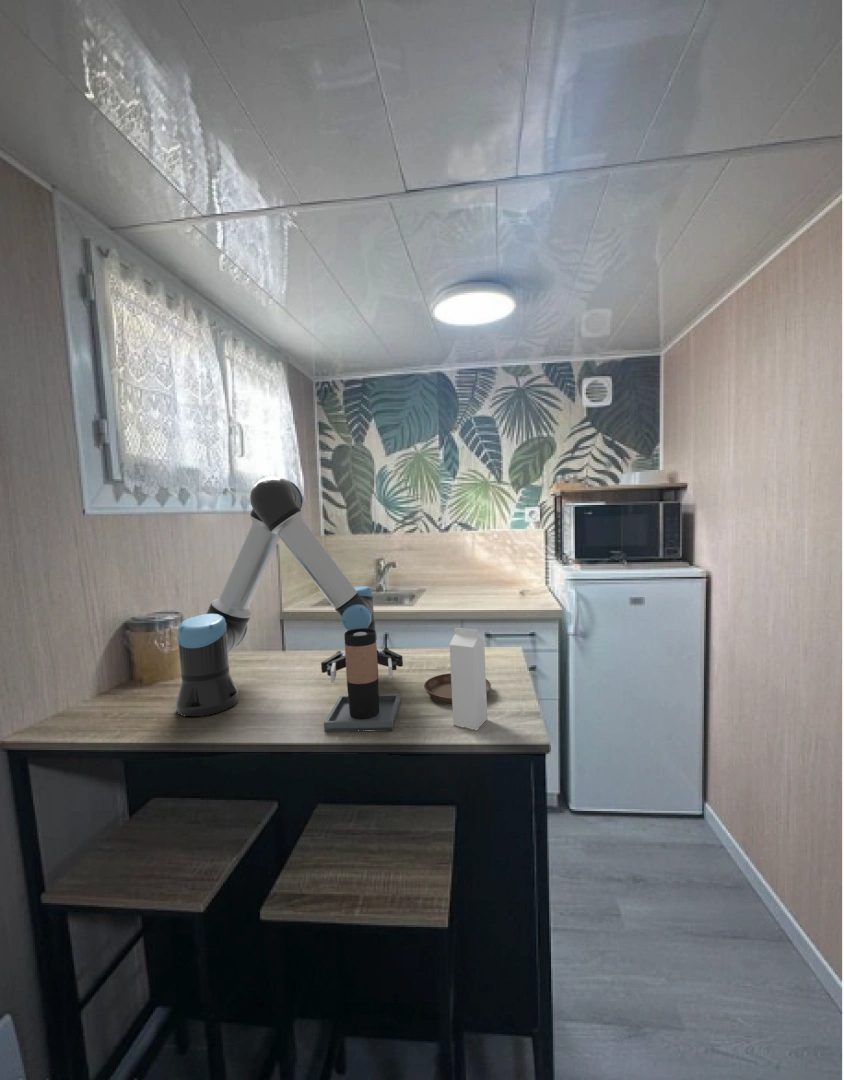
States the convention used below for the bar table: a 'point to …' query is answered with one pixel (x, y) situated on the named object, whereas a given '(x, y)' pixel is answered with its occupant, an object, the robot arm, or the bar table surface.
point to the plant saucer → (443, 688)
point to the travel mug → (362, 673)
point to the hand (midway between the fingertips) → (361, 674)
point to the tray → (344, 722)
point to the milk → (468, 678)
